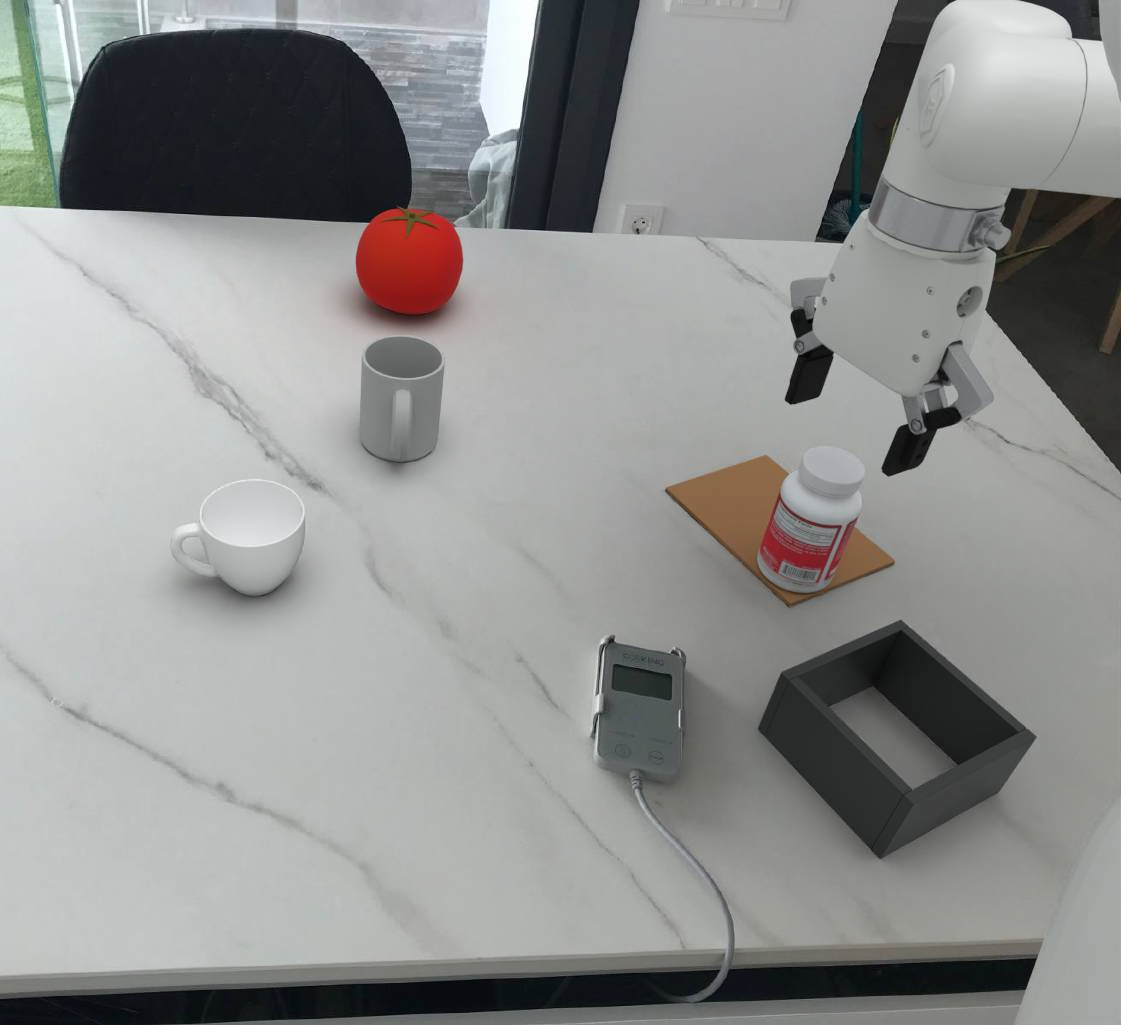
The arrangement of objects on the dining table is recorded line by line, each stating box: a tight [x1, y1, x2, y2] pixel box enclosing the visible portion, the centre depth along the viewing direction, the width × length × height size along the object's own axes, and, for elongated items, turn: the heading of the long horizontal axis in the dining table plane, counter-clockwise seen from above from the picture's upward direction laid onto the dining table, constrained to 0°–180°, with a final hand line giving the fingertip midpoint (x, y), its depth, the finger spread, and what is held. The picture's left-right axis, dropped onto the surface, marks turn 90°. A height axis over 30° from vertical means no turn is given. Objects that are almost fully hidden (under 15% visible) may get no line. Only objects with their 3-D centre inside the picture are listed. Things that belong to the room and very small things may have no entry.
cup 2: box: [358, 334, 446, 463], centre depth 95 cm, size 7×10×9 cm
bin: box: [757, 619, 1038, 860], centre depth 73 cm, size 12×12×6 cm
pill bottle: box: [757, 445, 866, 593], centre depth 85 cm, size 6×6×11 cm
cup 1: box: [170, 478, 306, 597], centre depth 82 cm, size 8×10×7 cm
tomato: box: [355, 205, 464, 315], centre depth 115 cm, size 11×12×10 cm
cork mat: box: [664, 454, 896, 607], centre depth 93 cm, size 16×12×1 cm
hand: (848, 433), depth 79 cm, fingers open, 9 cm apart
